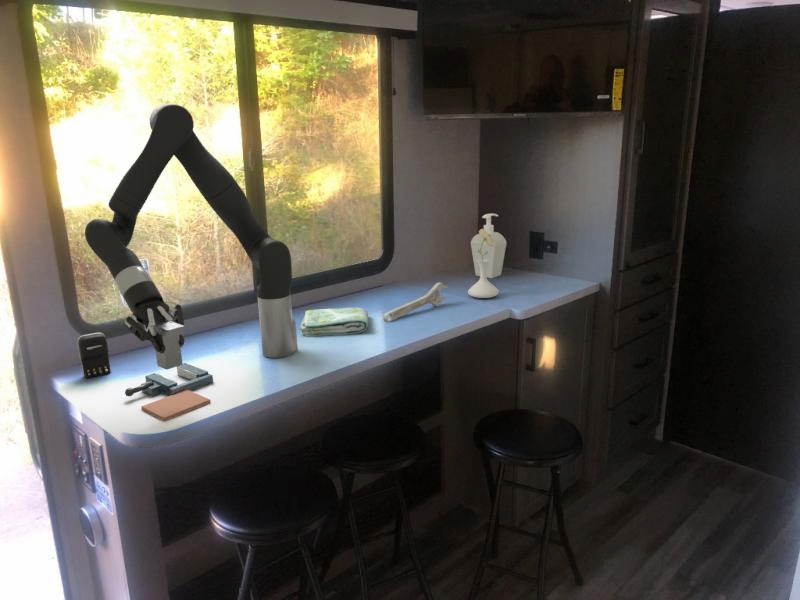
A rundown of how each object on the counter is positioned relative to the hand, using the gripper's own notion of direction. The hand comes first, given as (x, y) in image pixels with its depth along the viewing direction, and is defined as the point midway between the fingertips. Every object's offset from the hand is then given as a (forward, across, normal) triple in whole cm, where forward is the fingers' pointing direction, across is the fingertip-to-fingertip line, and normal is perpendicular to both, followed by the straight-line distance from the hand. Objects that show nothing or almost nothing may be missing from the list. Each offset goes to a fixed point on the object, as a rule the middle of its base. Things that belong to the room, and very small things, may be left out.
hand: (172, 348), depth 143 cm
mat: (+9, 0, +12) cm, 15 cm away
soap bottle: (+2, +153, +18) cm, 154 cm away
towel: (+1, +65, +21) cm, 68 cm away
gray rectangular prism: (+3, 0, +4) cm, 5 cm away
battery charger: (-15, -2, +37) cm, 40 cm away
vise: (+1, +4, +20) cm, 20 cm away
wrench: (+9, +93, +12) cm, 94 cm away
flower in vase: (+14, +123, +7) cm, 124 cm away
